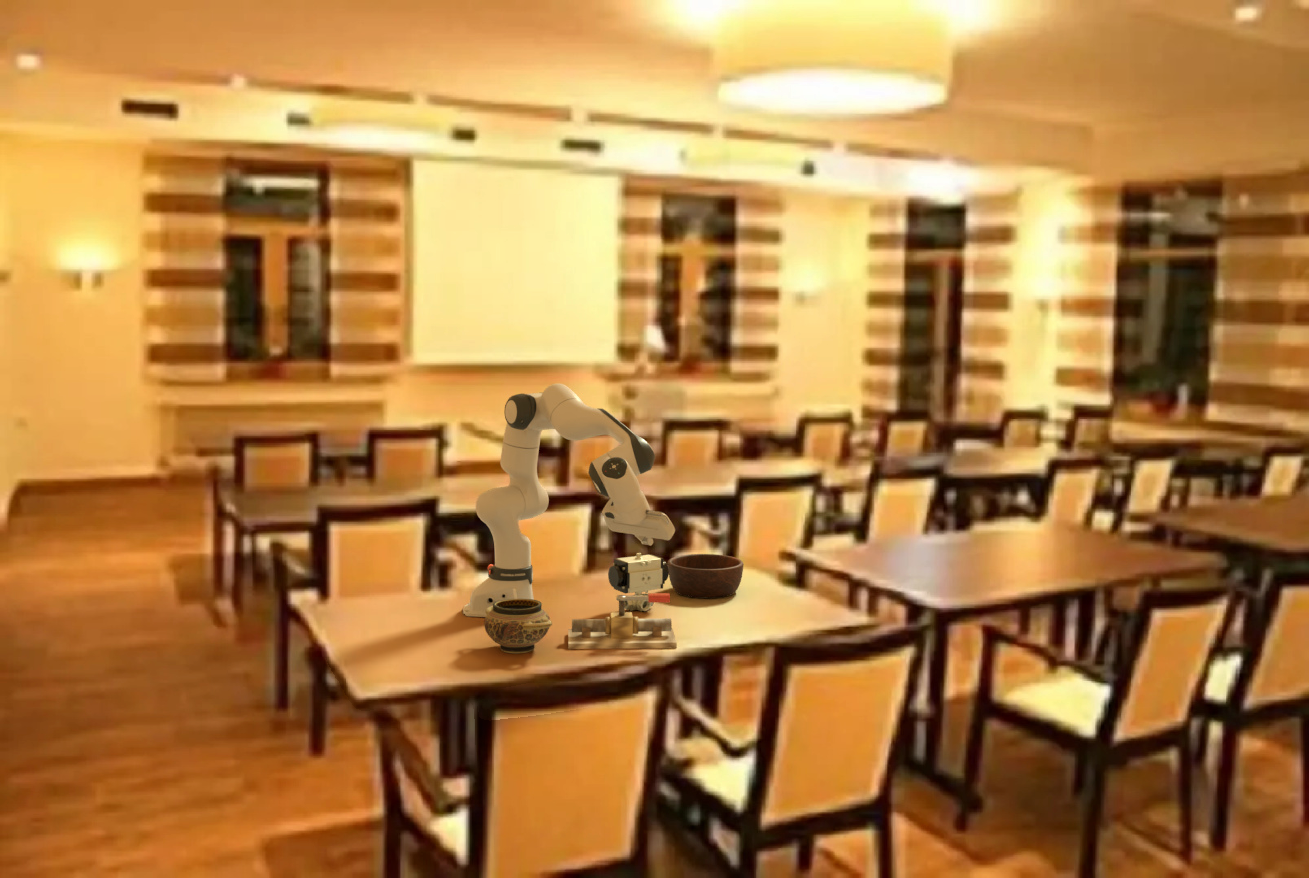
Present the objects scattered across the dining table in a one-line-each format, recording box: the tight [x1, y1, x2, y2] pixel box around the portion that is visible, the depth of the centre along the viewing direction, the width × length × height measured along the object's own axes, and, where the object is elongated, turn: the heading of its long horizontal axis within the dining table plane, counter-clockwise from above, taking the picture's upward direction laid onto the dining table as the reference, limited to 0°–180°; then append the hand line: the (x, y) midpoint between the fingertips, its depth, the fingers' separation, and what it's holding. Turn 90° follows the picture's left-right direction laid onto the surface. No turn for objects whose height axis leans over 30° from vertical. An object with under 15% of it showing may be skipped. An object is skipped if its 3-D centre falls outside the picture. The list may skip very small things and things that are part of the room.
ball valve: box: [607, 552, 669, 612], centre depth 391 cm, size 18×8×18 cm, turn 121°
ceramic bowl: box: [483, 599, 553, 654], centre depth 347 cm, size 24×18×15 cm
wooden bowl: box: [667, 553, 744, 599], centre depth 416 cm, size 25×25×10 cm
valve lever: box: [615, 592, 671, 603], centre depth 356 cm, size 15×3×2 cm, turn 93°
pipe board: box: [567, 601, 678, 650], centre depth 356 cm, size 30×15×12 cm, turn 94°
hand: (648, 543), depth 350 cm, fingers closed
